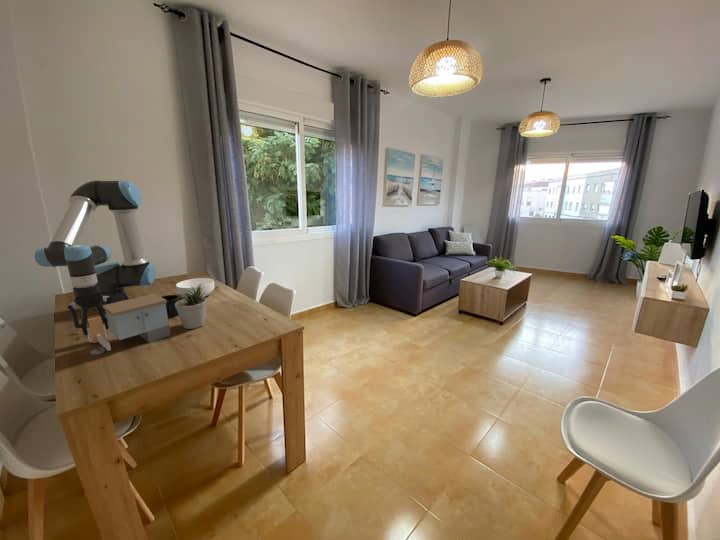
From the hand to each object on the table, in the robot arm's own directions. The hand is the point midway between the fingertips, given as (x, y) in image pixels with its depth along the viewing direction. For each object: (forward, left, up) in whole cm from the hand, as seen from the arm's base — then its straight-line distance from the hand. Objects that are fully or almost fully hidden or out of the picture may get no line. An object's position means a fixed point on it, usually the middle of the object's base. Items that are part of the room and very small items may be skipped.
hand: (98, 339), depth 121 cm
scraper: (+6, 0, 0) cm, 6 cm away
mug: (-5, +29, -1) cm, 29 cm away
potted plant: (+16, +31, -1) cm, 35 cm away
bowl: (-24, +51, -1) cm, 56 cm away
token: (+11, -3, -1) cm, 11 cm away
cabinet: (+12, +11, -1) cm, 17 cm away
